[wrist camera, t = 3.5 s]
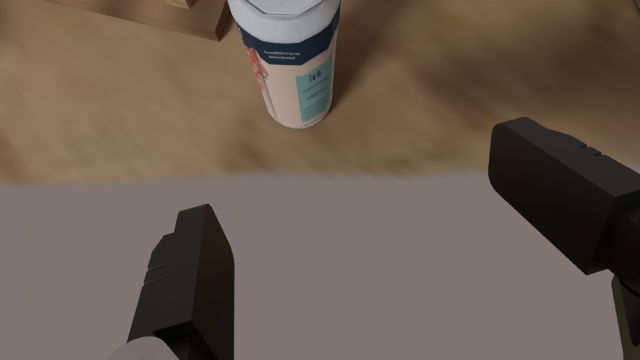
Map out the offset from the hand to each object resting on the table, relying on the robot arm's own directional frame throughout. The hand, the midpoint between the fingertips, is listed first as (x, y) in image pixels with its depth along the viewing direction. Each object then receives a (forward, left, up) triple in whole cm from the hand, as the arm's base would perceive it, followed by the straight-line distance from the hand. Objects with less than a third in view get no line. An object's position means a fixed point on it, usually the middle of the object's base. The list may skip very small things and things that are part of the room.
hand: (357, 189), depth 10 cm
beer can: (+5, -8, -15) cm, 17 cm away
